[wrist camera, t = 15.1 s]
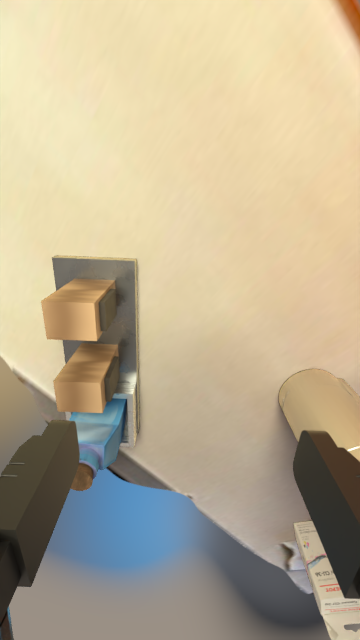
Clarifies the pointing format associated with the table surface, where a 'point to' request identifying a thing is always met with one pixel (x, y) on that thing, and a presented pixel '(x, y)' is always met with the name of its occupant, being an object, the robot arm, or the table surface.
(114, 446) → the perfume bottle
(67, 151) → the table surface
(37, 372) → the table surface
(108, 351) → the walnut finger rear
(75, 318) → the walnut finger front
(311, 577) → the ink cartridge box
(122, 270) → the grey rectangular tray
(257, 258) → the table surface
